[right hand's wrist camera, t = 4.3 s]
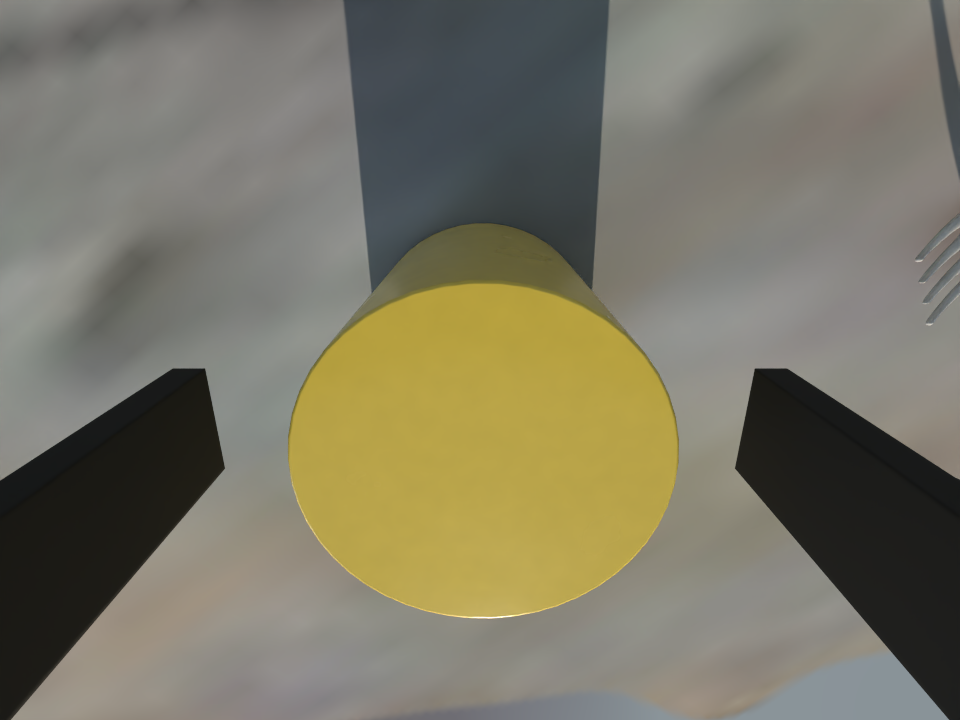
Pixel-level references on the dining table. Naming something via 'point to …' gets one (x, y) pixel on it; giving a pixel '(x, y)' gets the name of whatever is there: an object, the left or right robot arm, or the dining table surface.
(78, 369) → the dining table surface
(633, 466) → the canister
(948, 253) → the fork
